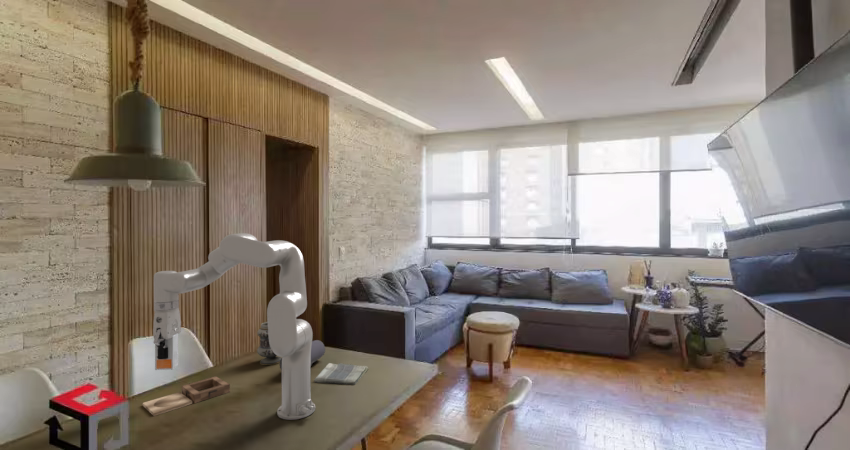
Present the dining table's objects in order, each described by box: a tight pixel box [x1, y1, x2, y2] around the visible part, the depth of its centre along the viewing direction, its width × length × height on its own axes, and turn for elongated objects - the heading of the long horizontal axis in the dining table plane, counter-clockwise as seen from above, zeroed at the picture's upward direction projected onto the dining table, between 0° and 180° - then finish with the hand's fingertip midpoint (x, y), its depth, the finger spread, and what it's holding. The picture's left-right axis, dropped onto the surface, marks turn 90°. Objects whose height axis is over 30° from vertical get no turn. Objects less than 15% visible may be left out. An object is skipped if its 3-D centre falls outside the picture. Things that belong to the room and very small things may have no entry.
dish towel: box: [314, 362, 369, 386], centre depth 173 cm, size 19×18×3 cm
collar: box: [181, 376, 231, 404], centre depth 155 cm, size 13×13×3 cm
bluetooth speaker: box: [279, 339, 326, 371], centre depth 181 cm, size 23×9×10 cm, turn 162°
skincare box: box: [154, 333, 179, 371], centre depth 145 cm, size 6×4×12 cm
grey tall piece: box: [256, 321, 282, 366], centre depth 190 cm, size 12×12×18 cm
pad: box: [142, 391, 193, 417], centre depth 146 cm, size 12×12×1 cm
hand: (166, 355), depth 145 cm, fingers closed on skincare box, 4 cm apart
